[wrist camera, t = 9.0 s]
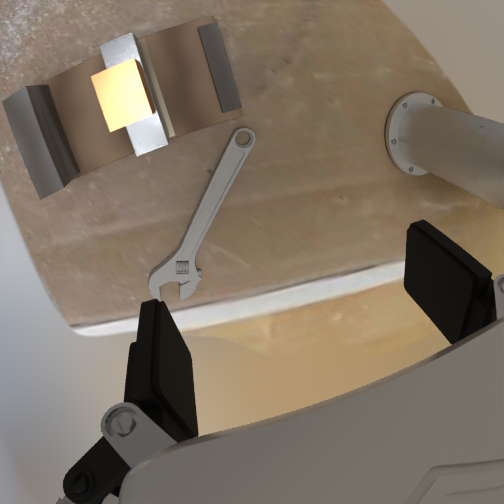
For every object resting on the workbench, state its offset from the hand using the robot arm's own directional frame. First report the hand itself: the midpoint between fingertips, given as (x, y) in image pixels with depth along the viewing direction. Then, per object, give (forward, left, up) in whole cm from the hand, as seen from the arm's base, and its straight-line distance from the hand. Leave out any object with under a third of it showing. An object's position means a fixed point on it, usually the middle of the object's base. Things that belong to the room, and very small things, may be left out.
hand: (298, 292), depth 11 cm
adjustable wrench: (+4, +9, -29) cm, 31 cm away
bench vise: (+7, -9, -29) cm, 31 cm away
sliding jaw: (+5, -9, -26) cm, 28 cm away
